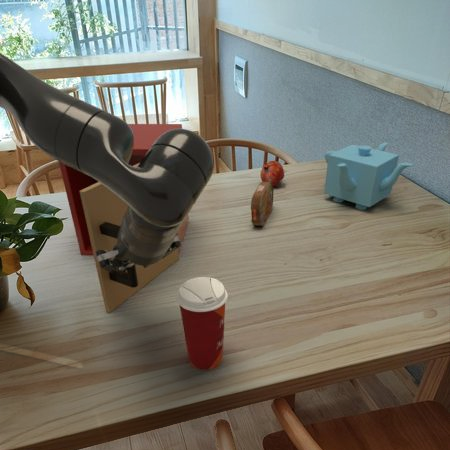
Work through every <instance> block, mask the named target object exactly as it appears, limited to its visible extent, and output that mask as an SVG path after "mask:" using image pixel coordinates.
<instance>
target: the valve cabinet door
mask: <svg viewBox="0 0 450 450" xmlns="http://www.w3.org/2000/svg"><path fill="white" fill-rule="evenodd" d="M139 164H140V163H138V164H136V165H134V166H133V167H136V168H137V166H138V165H139ZM80 196H81V200H82V205H83V209H84V214H85V218H86V223H87V227H88V232H89V236H90V241H91V245H92V250H93V255H94V256H93V258H94V264H95V268H96V272H97V277H98V282H99V287H100V290H101V296H102V300H103V304H104V309H105V312H107V313H109V314H111V313H113V311H114V310H116V309H117V308H118V307H120V306H121V305H122V304H123V303H124V302H126V301H127V300H129V299H130V298H131V297H132V296H134V295H135V294H136V293H137V292H139V291H141V290H142V289H143V288H144V287H145V286H147V285H148V284H149V283H151V282H152V281H153V280H154V279H156V278H157V277H158V276H160V275H161V274H162V273H164V272H166V270H168V269H169V268H170V267H171V266H173V265H174V264H175V263H176V262H178V261H179V260H180V257H179V256H180V254H179V255H178V248H177V249H176V250H175V251H173V252H172V253H170V254H169V255H168V256H166V257H165V258H163V259H161V260H160V261H158V262H157V263H155V264H152V265H149V266H148V267H146V268H144V267H143V266H142V265H137V264H134V265H133V266H132V267H129V268H127V269H126V272H125V274H120V272H119V273H117V272H116V271H114V272H108V271H106V270H105V269H103V268H101V267H100V264H99V261H98V258H97V255H96V251H98V250H104V251H106V250H108V252H110V251H113V247H114V246H115V245H116V244H117V238H118V233H119V229H120V226H121V222H122V218H123V216H124V213H125V212H126V210H127V208H128V205H126V204H125V203H124V202H123V201H122V200H121V199H120V198H119V197H118V196H116V195H115V194H114V193H113V192H111V191H110V190H109V189H108V188H106V187H105V186H104V185H102V184H101V183H100V182H98V183H95V184H93V185H91V186H89V187H87V188H85V189H83V190H81V191H80Z"/></svg>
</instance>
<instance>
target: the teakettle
mask: <svg viewBox="0 0 450 450" xmlns="http://www.w3.org/2000/svg"><path fill="white" fill-rule="evenodd" d="M388 145H389V143H388V142H387V141H386V142H382V143H379V145H378V146H377V148H376V149H375V148H373V147H372V146H370V145H367V144H363V145H357V144H349V145H348V146H346V147H344V148H343V147H342V148H341V149H339V150H329V151H326V153H324V160H325V162H326V164H327V165H326V173H325V181H324V190H323V194H324V195H328V196H331V197H333V199H332V201H333V202H335V203H343V202H344V201H347V202H351V203H354V204H355V209H357V210H360V211H361V210H366V209H368V208H371V207H372V206H374V205H376V204H377V203H378V202H380V201H382V200H384V199H385V198H386V197H388V196H389V195H391V194H392V191H393V186H394V185H395V184H396V182H397V181H398V179H399V178H400V175H401V174H402V173H403V171H404V170H405V169H406V168H409V167H412V166H414V164H413V163H410V162H401V163H399V164H398V162H399V158H400V155H399V154H396V153H394V152H393V153H392V152H388V151H385V149H386V148H387V146H388Z"/></svg>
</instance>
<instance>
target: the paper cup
mask: <svg viewBox="0 0 450 450" xmlns="http://www.w3.org/2000/svg"><path fill="white" fill-rule="evenodd" d="M228 297H229V295H228V291H227V290H226V288H225V286H224V284H223V283H222V282H221V281H220V280H218V279H216V278H214V277H208V276H198V277H193V278H191V279H188V280H186V281H184V282H183V283H182V284H181V285H180V286H179V288H178V291H177V293H176V296H175V298H176V302H177V304H178V306H179V311H180V316H181V322H182V329H183V335H184V341H185V346H186V352H187V357H188V361H189V363H190V365H191V366H192V367H193V368H196V369H198V370H200V371H201V370H202V371H207V370H213V369H215V368H216V367H218V366H219V365H220V364H221V363H222V360H223V355H224V339H225V319H226V318H225V317H226V302H227V301H228Z"/></svg>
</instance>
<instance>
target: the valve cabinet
mask: <svg viewBox="0 0 450 450" xmlns="http://www.w3.org/2000/svg"><path fill="white" fill-rule="evenodd" d="M127 124H128V125H129V126H130V127H131V129H132V131H133V136H134V146H133V151H132V154H131V157H130V160H129V163H128V165H130V166H134V165H136V164H138V163H140V162H141V161H142V159H143V158H144V157H145V155H146V154H147V152H148V151H149V149H150V148H151V147H152V145H153V144H154V142H155V141H156V140H157V139H158V138H159V137H160V136H161V135H162V134H163V133H165V132H167V131H169V130H172V129H183V123H127ZM58 165H59V168H60V173H61V177H62V181H63V185H64V189H65V194H66V198H67V201H68V205H69V210H70V214H71V215H70V216H71V220H72V222H73V226H74V227H73V228H74V231H75V235H76V240H77V244H78V247H79V252H80V256H91V257H94V255H93V250H92V245H91V241H90V236H89V232H88V227H87V223H86V218H85V214H84V209H83V205H82V200H81V196H80V191H81V190H83V189H85V188H87V187H89V186H91V185H93V184H95V183H98V181H97V180H95V179H94V178H92V177H91V176H89V175H87V174H84V173H82V172H80V171H78V170H76V169H74V168H72V167H70V166H68V165H66V164H64V163H61V162H59V161H58ZM189 222H190V219H189V214H188V215H187V216H186V218H185V219H184V220H183V222H182V224H181V226H180V228H179V229H178V231H177V235H178V237H179V240H180V243H181V246H180V247H179V248H178V255H179V256H180V251H181V248H182V247H183V242H184V239H185V236H186V233H187V229H188V226H189Z"/></svg>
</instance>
